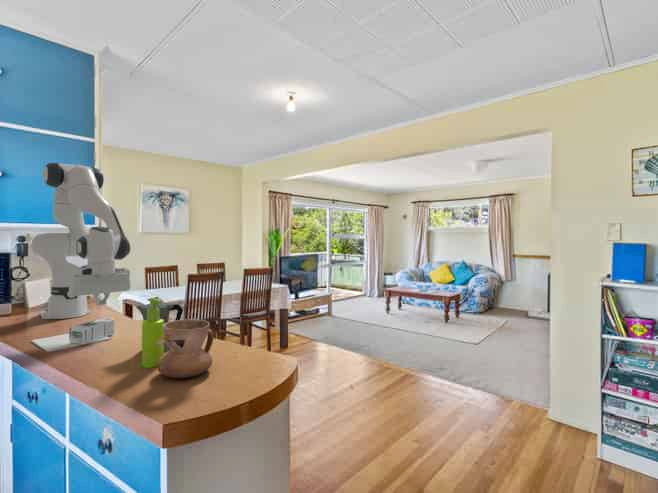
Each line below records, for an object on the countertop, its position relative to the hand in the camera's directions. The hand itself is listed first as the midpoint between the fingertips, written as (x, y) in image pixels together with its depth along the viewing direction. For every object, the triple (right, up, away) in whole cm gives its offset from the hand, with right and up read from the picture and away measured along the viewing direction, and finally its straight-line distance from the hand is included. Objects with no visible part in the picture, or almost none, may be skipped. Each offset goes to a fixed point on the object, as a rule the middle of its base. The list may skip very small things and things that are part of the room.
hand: (101, 304), depth 134 cm
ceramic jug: (+47, -14, -35) cm, 60 cm away
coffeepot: (+30, -13, -16) cm, 36 cm away
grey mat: (-6, -12, -7) cm, 15 cm away
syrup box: (+2, -8, +1) cm, 9 cm away
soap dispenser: (+35, -13, -29) cm, 48 cm away
